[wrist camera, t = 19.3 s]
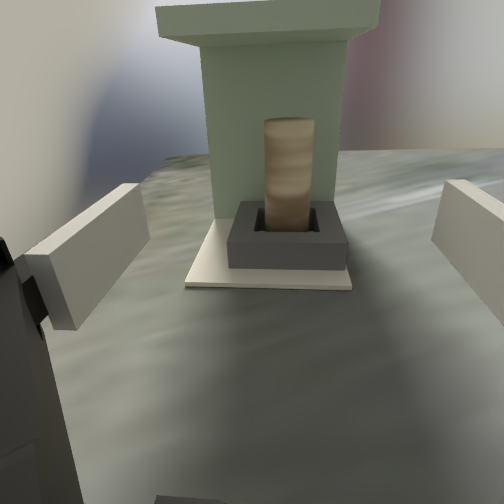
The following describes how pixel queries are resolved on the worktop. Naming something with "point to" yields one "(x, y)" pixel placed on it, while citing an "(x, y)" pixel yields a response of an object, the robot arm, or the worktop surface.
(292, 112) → the awning socket
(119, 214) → the robot arm
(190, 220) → the worktop surface
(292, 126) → the peg
